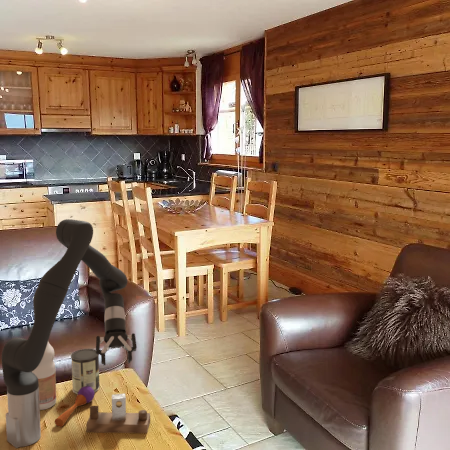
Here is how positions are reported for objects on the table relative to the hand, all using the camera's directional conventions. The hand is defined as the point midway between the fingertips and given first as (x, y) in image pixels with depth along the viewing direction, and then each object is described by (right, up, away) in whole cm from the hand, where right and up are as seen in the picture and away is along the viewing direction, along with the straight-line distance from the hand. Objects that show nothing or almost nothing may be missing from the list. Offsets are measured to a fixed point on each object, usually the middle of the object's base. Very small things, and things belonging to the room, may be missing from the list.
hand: (117, 363), depth 175 cm
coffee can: (-16, -14, +17) cm, 27 cm away
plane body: (+2, -19, -8) cm, 21 cm away
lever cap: (+3, -16, -9) cm, 18 cm away
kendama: (-15, -17, 0) cm, 23 cm away
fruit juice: (-28, -16, +5) cm, 33 cm away
